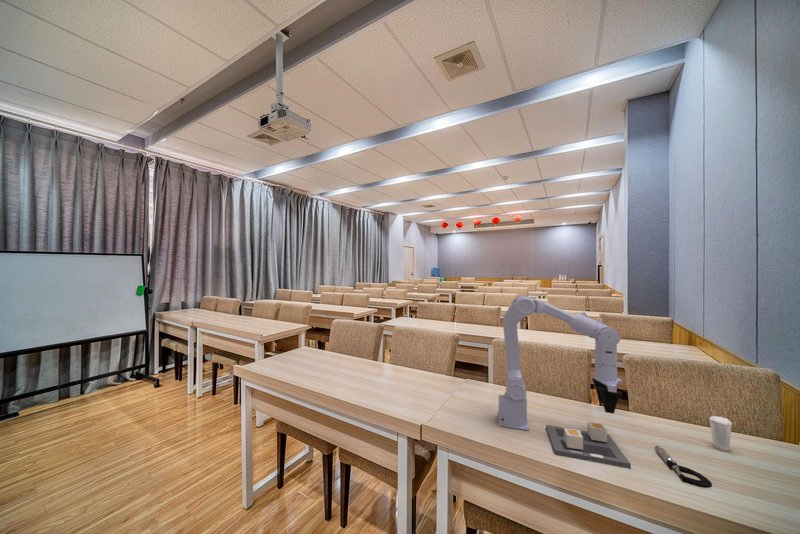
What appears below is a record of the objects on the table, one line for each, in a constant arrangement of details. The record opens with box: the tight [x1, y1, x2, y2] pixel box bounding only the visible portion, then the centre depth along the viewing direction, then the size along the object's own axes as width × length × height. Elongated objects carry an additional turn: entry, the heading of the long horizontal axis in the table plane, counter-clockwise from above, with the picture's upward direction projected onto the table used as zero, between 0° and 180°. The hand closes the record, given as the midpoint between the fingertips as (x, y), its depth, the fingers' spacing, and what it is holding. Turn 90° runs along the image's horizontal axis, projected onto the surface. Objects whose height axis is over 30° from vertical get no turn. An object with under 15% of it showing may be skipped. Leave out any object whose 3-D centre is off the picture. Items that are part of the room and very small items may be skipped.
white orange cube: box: [563, 427, 583, 450], centre depth 84 cm, size 4×4×4 cm
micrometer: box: [654, 445, 713, 489], centre depth 77 cm, size 15×7×3 cm, turn 159°
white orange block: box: [586, 421, 608, 442], centre depth 88 cm, size 4×4×4 cm
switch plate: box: [545, 424, 632, 469], centre depth 86 cm, size 18×15×1 cm
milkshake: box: [709, 409, 733, 452], centre depth 87 cm, size 5×5×10 cm
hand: (606, 407), depth 90 cm, fingers open, 7 cm apart
